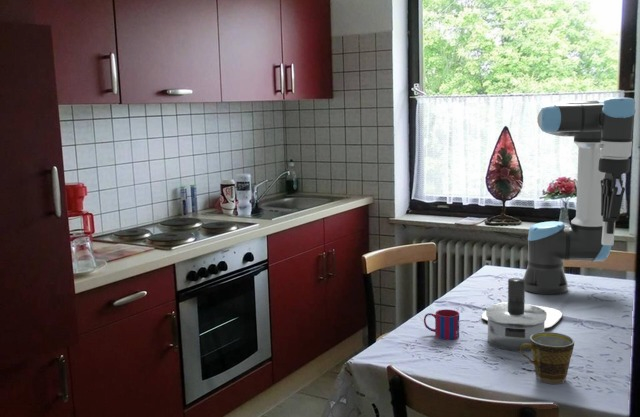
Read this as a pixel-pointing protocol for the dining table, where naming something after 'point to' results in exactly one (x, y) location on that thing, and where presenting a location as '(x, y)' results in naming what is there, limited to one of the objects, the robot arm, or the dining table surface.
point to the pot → (511, 335)
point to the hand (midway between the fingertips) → (607, 244)
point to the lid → (516, 308)
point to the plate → (551, 319)
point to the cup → (445, 324)
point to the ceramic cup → (550, 356)
